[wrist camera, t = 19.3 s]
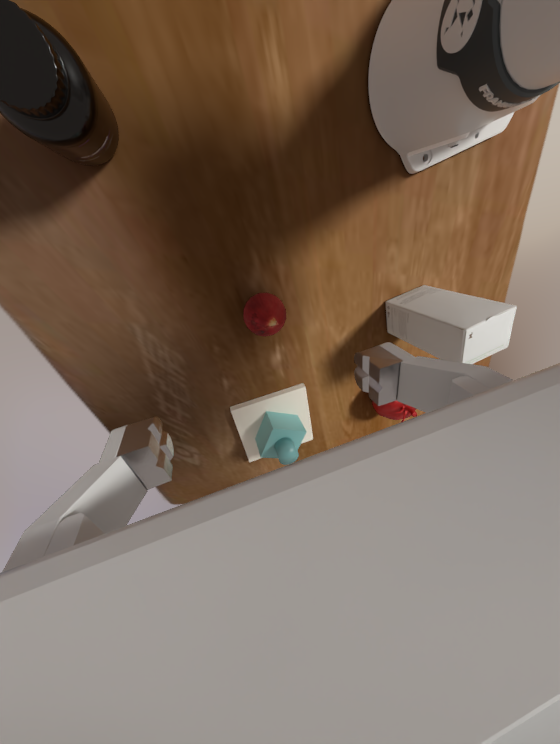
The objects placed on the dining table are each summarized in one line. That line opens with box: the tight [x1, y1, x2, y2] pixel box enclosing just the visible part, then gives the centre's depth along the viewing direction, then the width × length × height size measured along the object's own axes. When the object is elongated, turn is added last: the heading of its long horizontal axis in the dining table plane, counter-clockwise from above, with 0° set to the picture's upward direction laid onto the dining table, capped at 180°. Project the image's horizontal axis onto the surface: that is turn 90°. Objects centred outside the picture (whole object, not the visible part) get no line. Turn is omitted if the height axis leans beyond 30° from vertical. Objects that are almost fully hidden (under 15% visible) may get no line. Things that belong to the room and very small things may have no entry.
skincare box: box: [386, 285, 517, 364], centre depth 40 cm, size 8×7×16 cm
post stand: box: [230, 383, 313, 462], centre depth 49 cm, size 14×14×5 cm
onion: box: [244, 293, 286, 336], centre depth 35 cm, size 6×6×8 cm
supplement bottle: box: [0, 0, 119, 166], centre depth 20 cm, size 7×7×12 cm
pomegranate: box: [372, 400, 417, 422], centre depth 51 cm, size 10×10×9 cm
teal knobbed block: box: [255, 411, 307, 465], centre depth 46 cm, size 7×7×8 cm
